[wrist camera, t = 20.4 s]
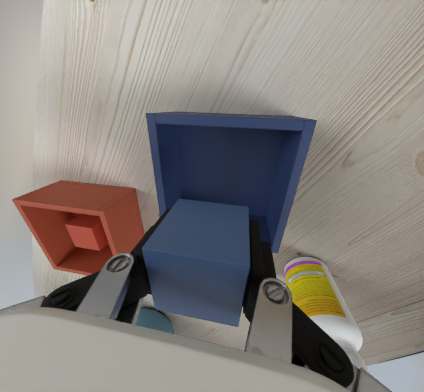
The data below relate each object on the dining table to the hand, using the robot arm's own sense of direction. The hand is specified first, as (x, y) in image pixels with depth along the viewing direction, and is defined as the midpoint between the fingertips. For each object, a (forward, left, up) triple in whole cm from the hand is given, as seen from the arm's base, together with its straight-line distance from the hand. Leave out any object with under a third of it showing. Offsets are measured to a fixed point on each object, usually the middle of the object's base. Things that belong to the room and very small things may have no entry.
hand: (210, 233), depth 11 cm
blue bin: (0, 0, -13) cm, 13 cm away
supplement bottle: (+14, -16, -13) cm, 25 cm away
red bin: (-21, -11, -13) cm, 27 cm away
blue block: (0, 0, 0) cm, 0 cm away
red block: (-21, -11, -12) cm, 27 cm away
